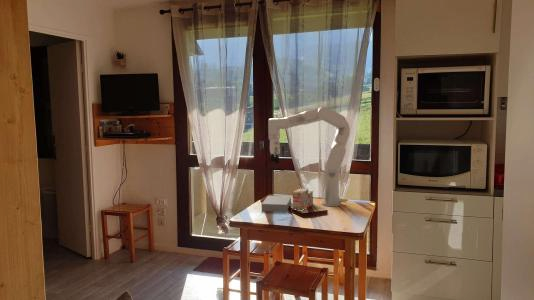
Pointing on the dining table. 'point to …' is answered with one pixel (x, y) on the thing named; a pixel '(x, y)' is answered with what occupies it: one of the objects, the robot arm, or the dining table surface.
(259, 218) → the dining table surface
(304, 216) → the dining table surface
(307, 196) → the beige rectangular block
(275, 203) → the grey box
